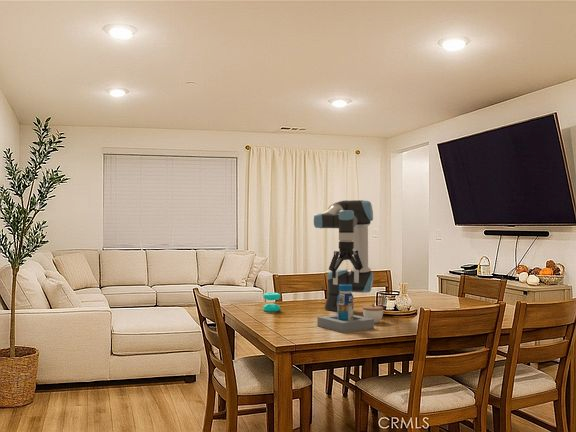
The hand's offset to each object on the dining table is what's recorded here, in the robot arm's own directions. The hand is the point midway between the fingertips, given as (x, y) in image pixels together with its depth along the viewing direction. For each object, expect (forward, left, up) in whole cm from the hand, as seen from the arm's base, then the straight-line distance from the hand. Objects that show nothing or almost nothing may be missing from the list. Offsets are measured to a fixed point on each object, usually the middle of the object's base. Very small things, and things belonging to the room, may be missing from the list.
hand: (345, 283), depth 302 cm
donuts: (+4, -62, -22) cm, 66 cm away
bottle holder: (0, 0, -22) cm, 22 cm away
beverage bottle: (-1, -1, -21) cm, 21 cm away
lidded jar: (-22, -4, -22) cm, 31 cm away
